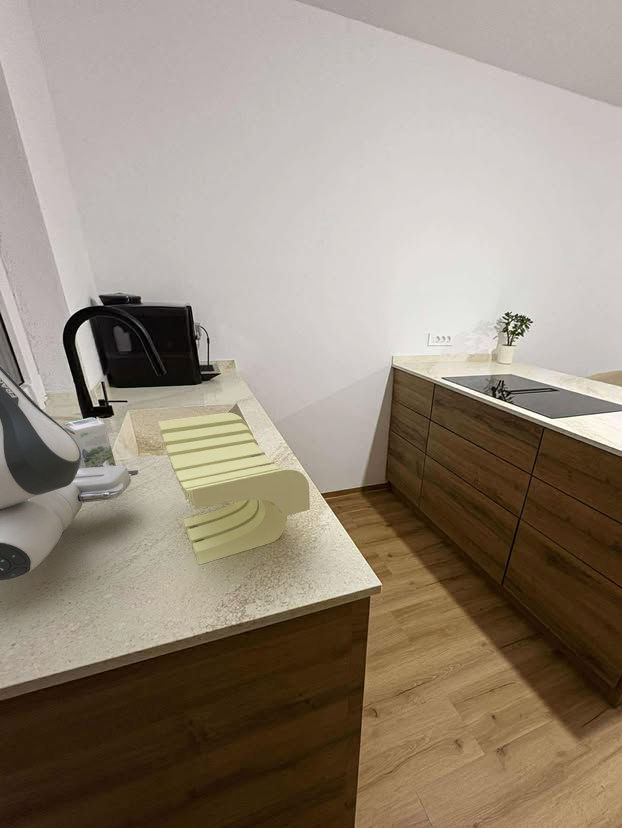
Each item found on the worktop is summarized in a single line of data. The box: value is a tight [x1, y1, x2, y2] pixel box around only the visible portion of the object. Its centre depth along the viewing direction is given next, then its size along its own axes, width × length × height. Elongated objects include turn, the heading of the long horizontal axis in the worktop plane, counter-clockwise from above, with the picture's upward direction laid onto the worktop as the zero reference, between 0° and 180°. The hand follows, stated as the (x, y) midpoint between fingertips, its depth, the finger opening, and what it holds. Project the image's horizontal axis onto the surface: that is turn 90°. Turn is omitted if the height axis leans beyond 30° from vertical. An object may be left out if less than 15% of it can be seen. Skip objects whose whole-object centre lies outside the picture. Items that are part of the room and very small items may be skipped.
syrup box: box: [61, 417, 117, 468], centre depth 81 cm, size 6×6×14 cm
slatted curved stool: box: [157, 412, 311, 566], centre depth 67 cm, size 30×16×18 cm, turn 32°
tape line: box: [128, 469, 139, 475], centre depth 89 cm, size 12×2×1 cm, turn 106°
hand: (77, 466), depth 74 cm, fingers open, 8 cm apart
